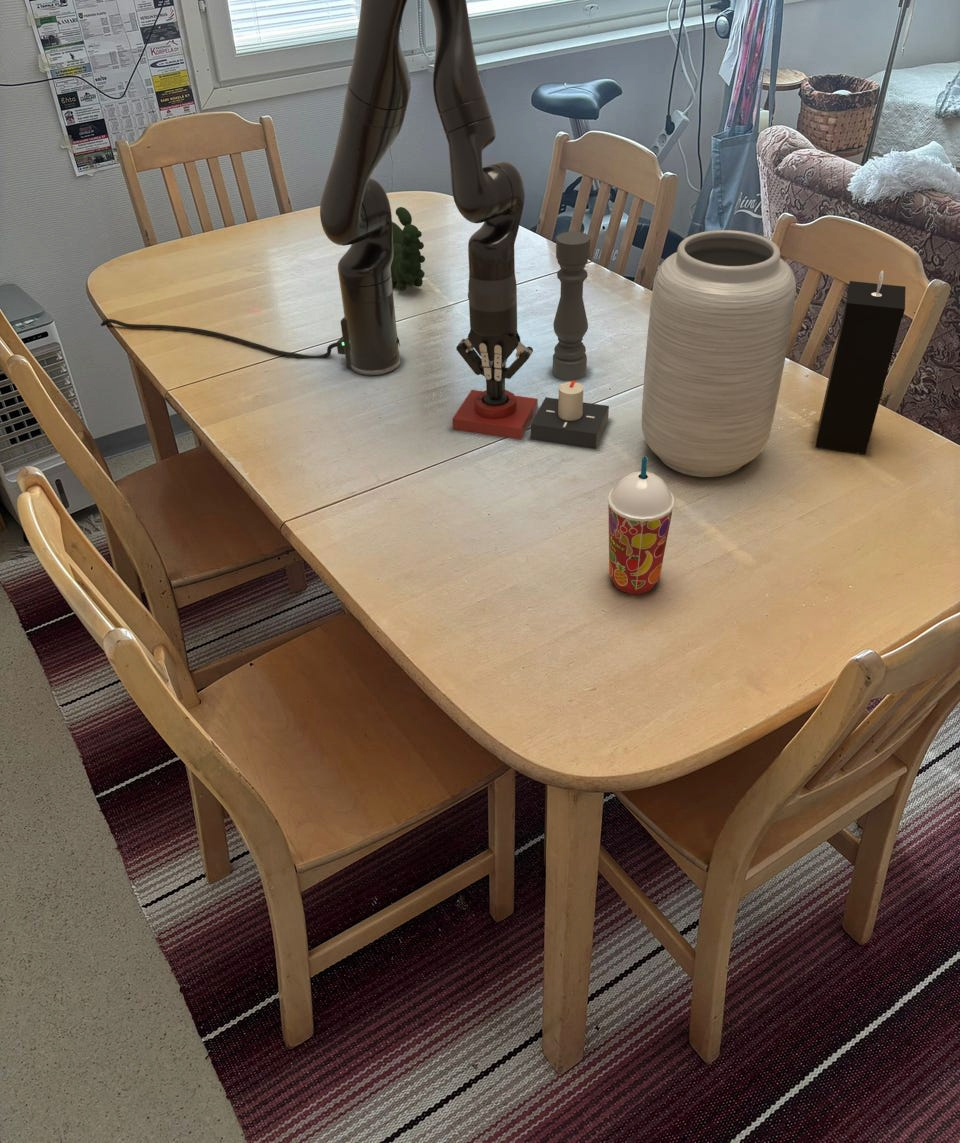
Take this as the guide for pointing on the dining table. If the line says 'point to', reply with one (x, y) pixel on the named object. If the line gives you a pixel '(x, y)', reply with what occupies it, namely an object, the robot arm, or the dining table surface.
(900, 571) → the dining table surface
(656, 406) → the vase
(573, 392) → the knob
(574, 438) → the control panel
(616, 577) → the smoothie
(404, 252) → the dark green lumpy figure
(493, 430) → the button housing
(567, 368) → the candle holder
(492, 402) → the button
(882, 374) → the black pillar candle
